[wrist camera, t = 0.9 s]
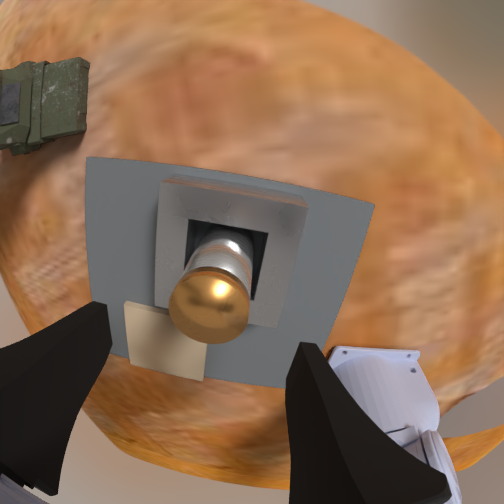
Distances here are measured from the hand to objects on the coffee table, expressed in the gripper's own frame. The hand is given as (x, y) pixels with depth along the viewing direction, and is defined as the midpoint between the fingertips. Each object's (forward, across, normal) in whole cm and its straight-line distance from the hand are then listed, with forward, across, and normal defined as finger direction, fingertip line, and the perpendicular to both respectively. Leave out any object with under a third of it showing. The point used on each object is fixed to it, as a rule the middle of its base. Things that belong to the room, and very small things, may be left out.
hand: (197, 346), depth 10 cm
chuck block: (+10, 0, 0) cm, 10 cm away
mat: (+10, +1, +4) cm, 11 cm away
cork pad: (+10, +4, +10) cm, 15 cm away
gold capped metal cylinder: (+10, 0, 0) cm, 10 cm away
